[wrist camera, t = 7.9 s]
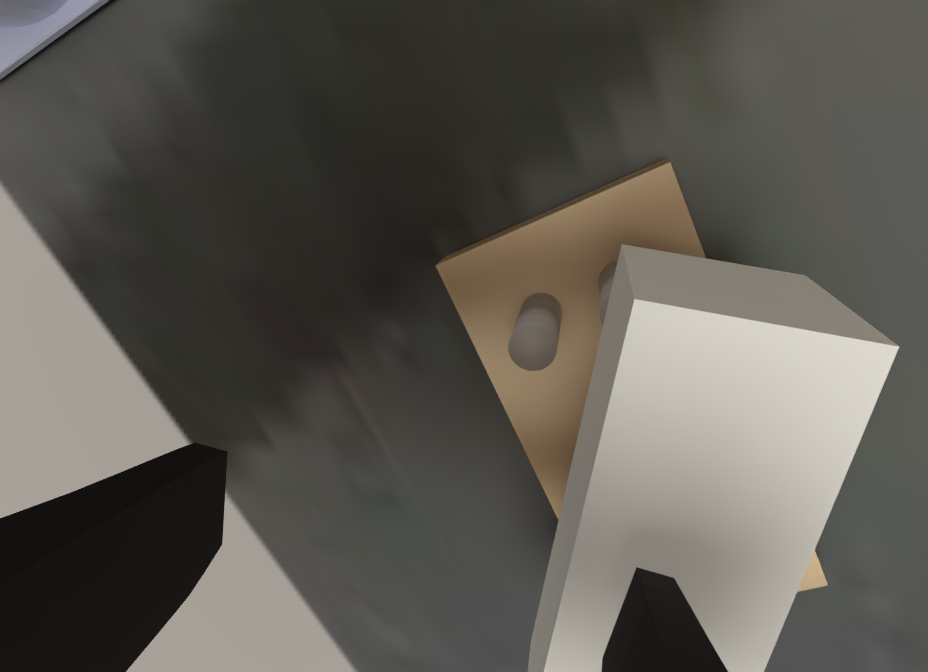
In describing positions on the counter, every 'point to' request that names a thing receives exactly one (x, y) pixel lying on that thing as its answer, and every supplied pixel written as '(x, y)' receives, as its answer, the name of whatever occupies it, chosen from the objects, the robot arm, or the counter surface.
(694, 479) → the white rectangular block
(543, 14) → the counter surface
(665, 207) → the peg stand
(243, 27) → the counter surface
